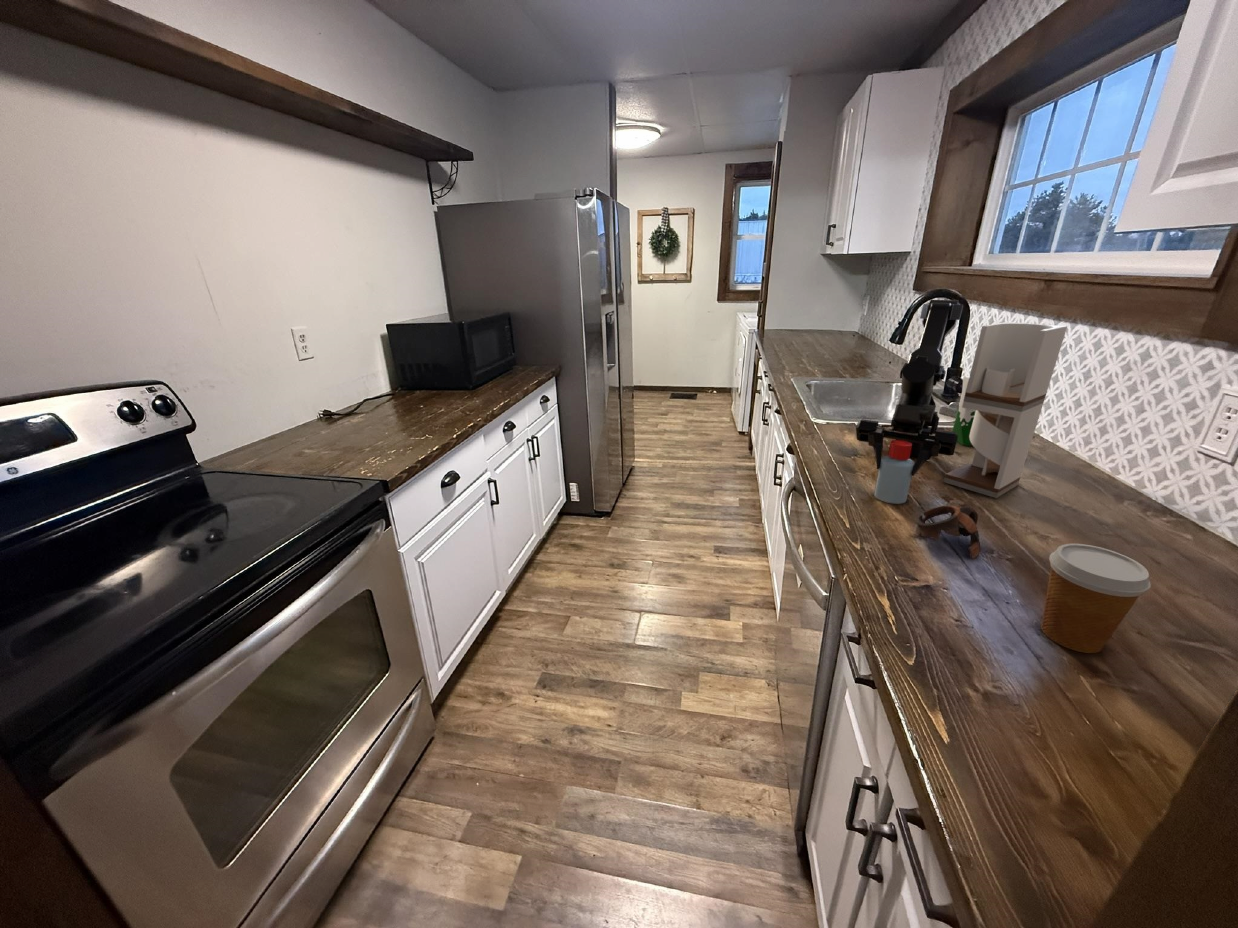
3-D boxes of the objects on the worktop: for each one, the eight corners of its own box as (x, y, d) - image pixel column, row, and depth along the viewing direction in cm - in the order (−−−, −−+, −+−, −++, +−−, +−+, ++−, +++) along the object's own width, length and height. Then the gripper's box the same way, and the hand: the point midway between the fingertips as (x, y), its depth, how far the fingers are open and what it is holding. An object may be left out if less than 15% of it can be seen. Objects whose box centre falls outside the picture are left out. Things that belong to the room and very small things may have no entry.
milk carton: (961, 446, 135) (980, 374, 128) (944, 436, 144) (961, 367, 136) (995, 447, 135) (1016, 374, 127) (976, 436, 143) (995, 367, 135)
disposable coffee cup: (1008, 616, 71) (1033, 543, 66) (1070, 611, 71) (1099, 539, 67) (1070, 665, 62) (1103, 586, 57) (1140, 659, 63) (1178, 580, 58)
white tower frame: (966, 470, 120) (1005, 322, 107) (1017, 485, 112) (1067, 326, 99) (943, 481, 114) (982, 326, 101) (996, 498, 106) (1045, 330, 93)
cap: (904, 453, 105) (907, 439, 104) (912, 460, 102) (915, 446, 100) (885, 453, 106) (887, 439, 104) (892, 459, 102) (895, 445, 101)
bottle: (899, 491, 110) (910, 440, 105) (911, 504, 104) (923, 451, 99) (870, 491, 110) (879, 440, 106) (880, 503, 105) (891, 450, 100)
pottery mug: (971, 569, 82) (951, 526, 82) (917, 565, 91) (898, 527, 90) (1004, 532, 87) (985, 492, 87) (950, 532, 96) (933, 495, 95)
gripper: (865, 383, 106) (845, 445, 102) (968, 394, 96) (951, 464, 92) (866, 410, 115) (848, 468, 111) (961, 422, 105) (945, 487, 101)
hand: (894, 471), depth 104 cm, fingers closed on bottle, 6 cm apart
